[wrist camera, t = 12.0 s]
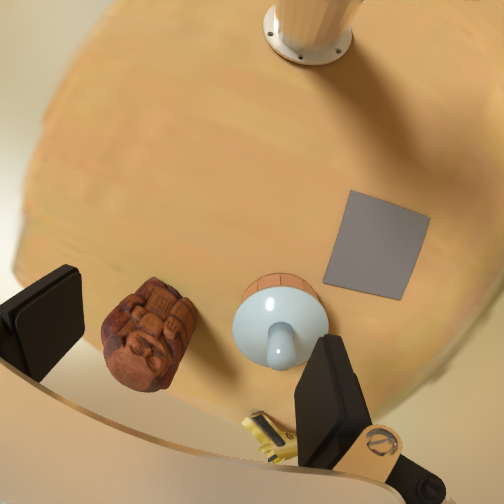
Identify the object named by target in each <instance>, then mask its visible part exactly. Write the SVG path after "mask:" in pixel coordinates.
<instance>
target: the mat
mask: <svg viewBox="0 0 504 504" xmlns="http://www.w3.org/2000/svg"><path fill="white" fill-rule="evenodd" d="M429 221H430V218H429V217H426V216H424V215H421V214H418V213H416V212H413V211H411V210H408V209H405V208H402V207H400V206H397V205H394V204H391V203H388V202H386V201H383V200H380V199H377V198H374V197H371V196H368V195H365V194H362V193H359V192H355V191H352V190H351V191H350V195H349V198H348V202H347V205H346V209H345V212H344V216H343V219H342V223H341V226H340V229H339V233H338V236H337V239H336V242H335V246H334V249H333V252H332V255H331V258H330V261H329V264H328V267H327V270H326V273H325V276H324V279H323V283H326V284H331V285H335V286H339V287H344V288H348V289H353V290H357V291H362V292H366V293H371V294H375V295H380V296H384V297H389V298H393V299H398V300H401V298H402V295H403V293H404V291H405V288H406V286H407V283H408V281H409V278H410V276H411V273H412V271H413V268H414V265H415V263H416V260H417V257H418V255H419V252H420V249H421V246H422V243H423V240H424V237H425V234H426V231H427V228H428V225H429Z"/></svg>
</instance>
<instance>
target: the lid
mask: <svg viewBox="0 0 504 504" xmlns="http://www.w3.org/2000/svg"><path fill="white" fill-rule="evenodd" d="M328 331H329V324H328V318H327V315H326V312H325V310H324V308H323V306H322V304H321V303H320V302H319V300H318V299H317V298H316V297H314V296H313V295H312V294H310V293H309V292H307V291H305V290H303V289H301V288H297V287H293V286H287V285H278V286H270V287H266V288H263V289H260V290H258V291H256V292H254V293H253V294H251V295H250V296H248V297H247V298H246V299H245V300H244V301H243V302H242V303H241V305H240V306H239V307H238V309H237V311H236V313H235V316H234V320H233V326H232V333H233V338H234V341H235V344H236V346H237V347H238V349H239V350H240V351H241V353H242V354H243V355H244V356H246V357H247V358H248V359H249V360H251V361H253V362H255V363H257V364H259V365H262V366H265V367H270V368H272V369H274V370H278V371H285V370H288V369H290V368H292V367H293V366H297V365H300V364H302V363H304V362H306V361H308V360H309V358H310V356H311V354H312V351H313V349H314V347H315V344H316V342H317V340H318V338H319V337H323V336H324V335H325V334H328Z"/></svg>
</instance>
